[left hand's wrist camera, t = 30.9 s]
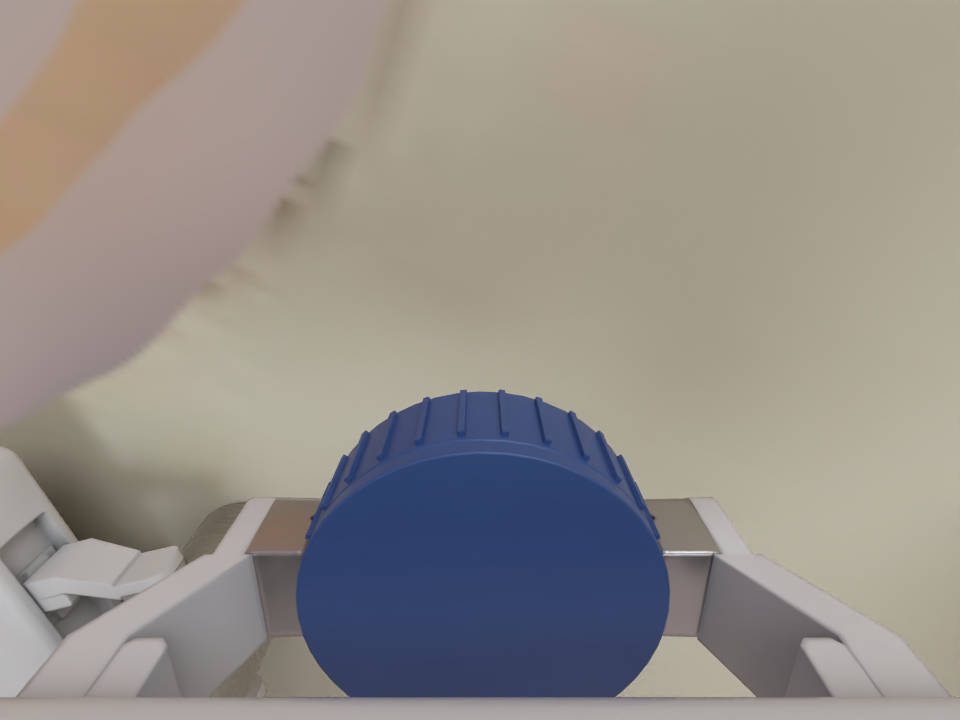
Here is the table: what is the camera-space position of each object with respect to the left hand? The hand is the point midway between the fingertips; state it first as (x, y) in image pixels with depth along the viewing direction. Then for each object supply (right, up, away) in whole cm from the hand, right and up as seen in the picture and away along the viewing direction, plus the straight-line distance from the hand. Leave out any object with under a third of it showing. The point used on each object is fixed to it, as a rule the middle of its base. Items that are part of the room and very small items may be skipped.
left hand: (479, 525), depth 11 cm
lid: (0, -1, -2) cm, 2 cm away
